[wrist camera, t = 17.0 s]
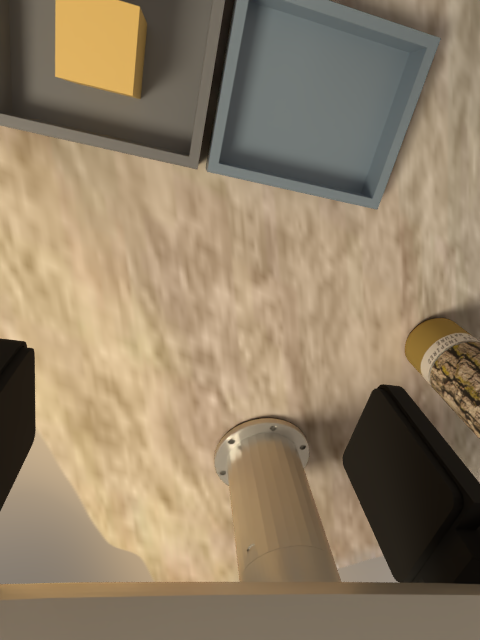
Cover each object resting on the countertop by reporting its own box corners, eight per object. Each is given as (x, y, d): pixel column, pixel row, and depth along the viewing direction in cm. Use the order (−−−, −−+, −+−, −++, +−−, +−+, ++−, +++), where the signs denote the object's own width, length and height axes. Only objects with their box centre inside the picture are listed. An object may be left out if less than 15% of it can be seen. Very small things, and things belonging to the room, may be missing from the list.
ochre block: (140, 99, 31) (132, 95, 26) (74, 82, 30) (55, 76, 25) (147, 24, 29) (139, 6, 24) (76, 3, 28) (55, -19, 23)
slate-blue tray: (363, 203, 37) (377, 209, 35) (205, 167, 34) (207, 171, 31) (419, 45, 32) (440, 38, 29) (237, -16, 29) (241, -30, 26)
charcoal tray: (196, 165, 34) (197, 169, 31) (3, 122, 31) (-14, 122, 28) (226, -19, 28) (230, -33, 26) (-5, -95, 25) (-28, -121, 23)
